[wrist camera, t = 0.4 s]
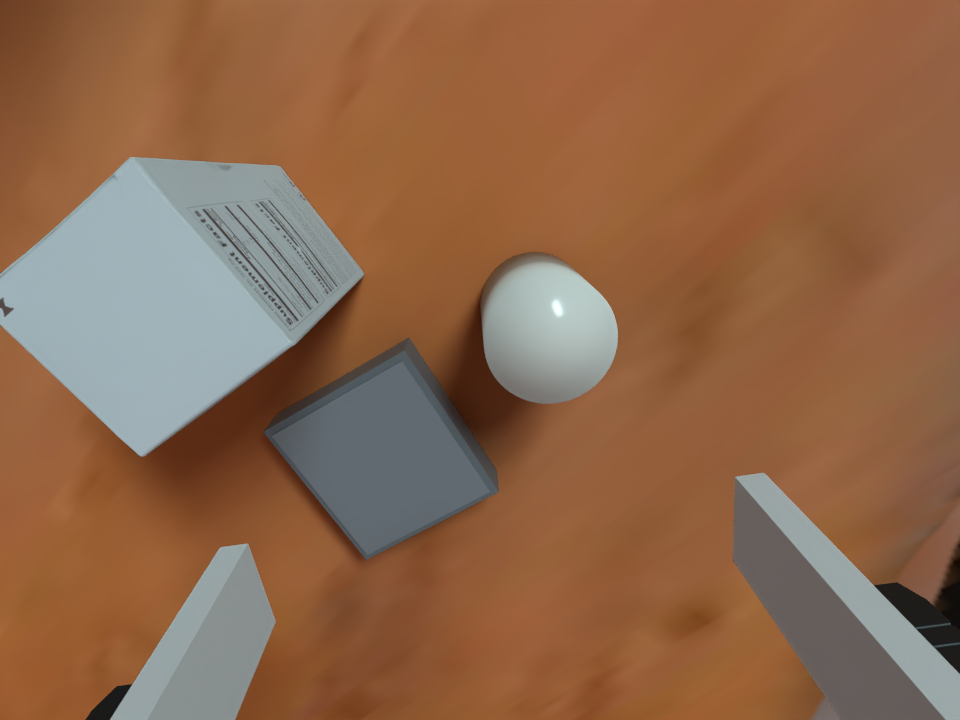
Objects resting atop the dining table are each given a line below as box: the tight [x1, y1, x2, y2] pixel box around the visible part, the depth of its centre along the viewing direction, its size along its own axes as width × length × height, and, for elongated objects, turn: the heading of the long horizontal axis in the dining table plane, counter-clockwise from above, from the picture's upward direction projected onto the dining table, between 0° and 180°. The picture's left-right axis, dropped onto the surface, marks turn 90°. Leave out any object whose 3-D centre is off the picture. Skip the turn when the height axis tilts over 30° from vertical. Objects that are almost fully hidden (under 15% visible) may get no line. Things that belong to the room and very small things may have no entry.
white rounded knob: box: [480, 252, 618, 404], centre depth 35 cm, size 8×8×9 cm
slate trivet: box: [263, 338, 499, 560], centre depth 41 cm, size 13×12×3 cm
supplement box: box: [0, 157, 364, 457], centre depth 30 cm, size 10×9×17 cm
